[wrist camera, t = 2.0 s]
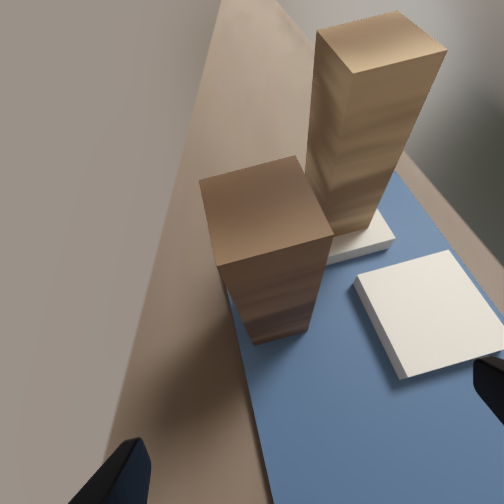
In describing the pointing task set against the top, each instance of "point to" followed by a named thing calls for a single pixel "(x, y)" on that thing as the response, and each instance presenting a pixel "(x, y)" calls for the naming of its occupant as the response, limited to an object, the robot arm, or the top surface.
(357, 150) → the oak pillar
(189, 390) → the top surface
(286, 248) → the walnut pillar
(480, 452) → the mat
